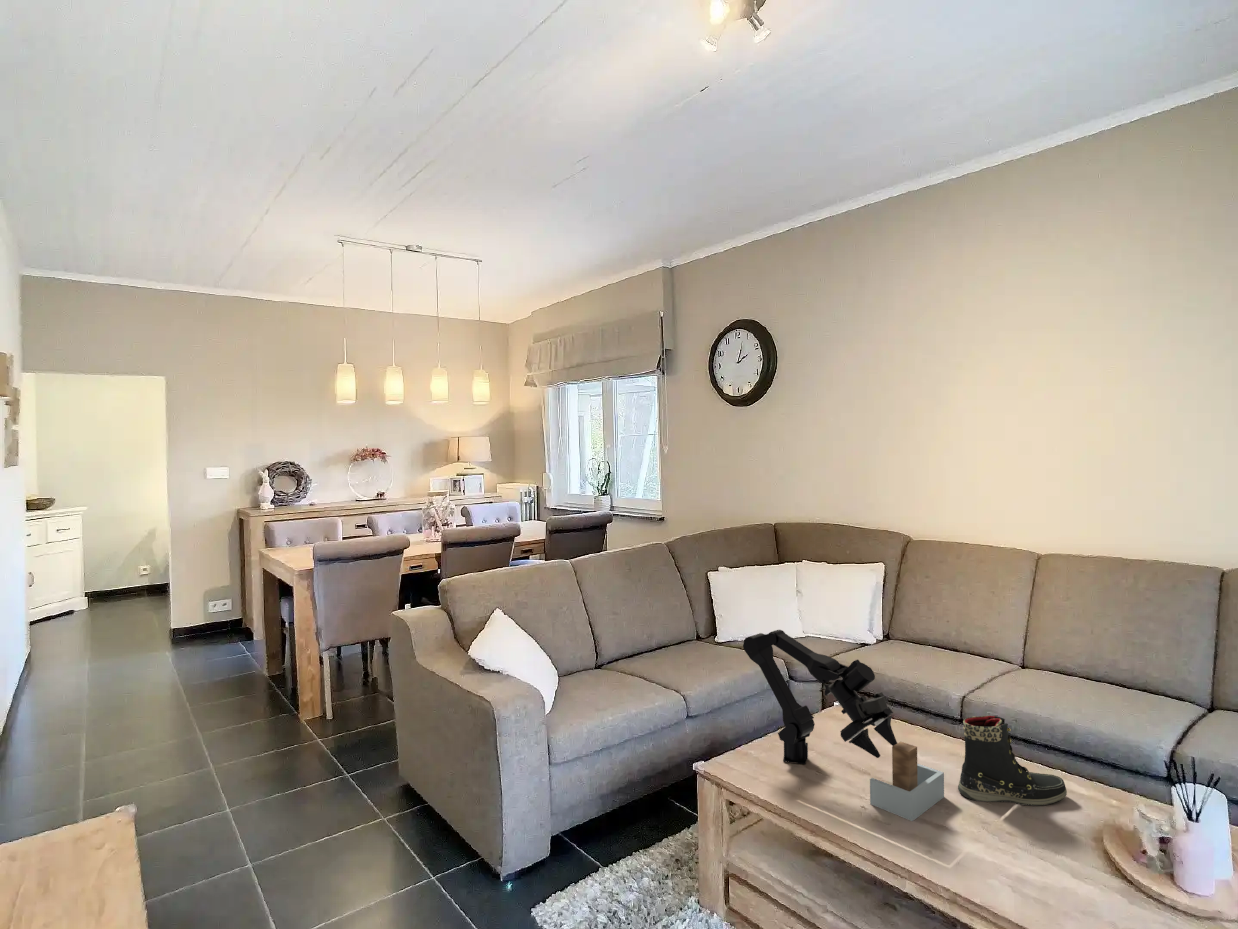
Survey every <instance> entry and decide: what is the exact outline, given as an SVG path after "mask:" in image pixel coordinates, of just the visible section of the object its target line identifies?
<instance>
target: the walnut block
mask: <svg viewBox="0 0 1238 929" xmlns="http://www.w3.org/2000/svg"><path fill="white" fill-rule="evenodd" d="M891 746H892V745H891ZM891 755H892V756H891V758H892V762H891V763H892V766H891V767H892V769H891V770H892V772H891V773H892V774H891V776H892V777H891V778H892V785H893V786H896V787H898V788H901V789H904V790H906V791H909V792H910V791H911V790H913V789H914V788H916V787H917V786H918V776H917V763H918V746H915V745H913V744H909V743H906V742H904V741H899V742H897V744H895V745H894V746H892V747H891Z"/></svg>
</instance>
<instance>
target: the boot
mask: <svg viewBox="0 0 1238 929" xmlns="http://www.w3.org/2000/svg"><path fill="white" fill-rule="evenodd" d="M1005 720H1006V719H1005V718H1004V717H1000V716H997V715H977V716H970V717H969V716H968V717H965V718H964V719H963V721H962V724H963V728H962V729H963V730H964V733H963V735H964V761H963V763H962V766H961V773H960V778H959V782H958V785H957V790H958V792H959V793H960V794H961V795H962V796H963V797H965V798H967V799H968V800H972V801H975V802H983V803H1012V804H1013V803H1014V804H1016V805H1021V806H1022V805H1023V806H1034V807H1035V806H1036V807H1037V806H1038V807H1039V806H1048V805H1053V804H1054V803H1057V802H1060V801H1062V800H1063V799H1064V798H1065V797H1067V794H1068V791H1067V787H1066V784H1065V781H1064V779H1063V778H1061V776H1057V775H1054V774H1048V773H1039V772H1032V771H1029V770H1028V768H1027V767H1026V766H1023V765H1021V764H1020V763H1019V762H1018V761H1017V759H1016V757H1015V754H1014V752H1013V747H1012V745H1011V743H1012V738H1011V735H1010V734H1009V732H1011V730H1012V729H1011V728H1010V727H1008V725H1009V724H1008V723H1007V722H1006V723H1005Z"/></svg>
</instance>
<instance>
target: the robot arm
mask: <svg viewBox="0 0 1238 929" xmlns="http://www.w3.org/2000/svg"><path fill="white" fill-rule="evenodd" d="M773 646H775V647H776V648H778V649H779V650H780V651H782V652H784V653H785V654H787V655H788V656H790V657H791V658H793V659H795V660H796V661H798V662H799V663H800V664H801V665H803V666H805V668H807V670H808V672H809V674H810V675H812V677H813V678H815V679H816V681H818V682H819V683H822V684H825V687H824V688H825V689H824V696H829V695H832V696H833V697H834V699H835V700H836V701H837V702H838V704H839V705H840V706H841V708H842V710H840V711H841V713H842V715H844V714H847V716H848V717H849V719H850V720H851V722H850V723H849V724H847V725H846V726H845V727H844V728H842V729H841V730H840V737H841V739H842V740H843V742H844V743H846V742H848V743H849V744H852V745H855V746H857V747H858V748H860V749H862V750H864V751H865V752H867V753H868V754H870V755H871V756H873V757H875V758H876V759H879V758H881V754H880V752H879V750H878V749H877V747H876V745H875V744H874V743H873V741H872V739H871V737H870V736H869V728H868V727H869V726H873V729H874V731H875V732H876V733H878V734H879V735H880V736H881V737H882V738H883V739H884V740H886V741H887V743H888V744H890V745H891V746H894V745H895V744H897V743H898V741H897V739H896V736H895V733H894V731H893V727H892V725H891V723H892V718H893V714H894V711H893V710H892V709H891V707H889V706H888V703H889V698H888V697H886V695H885V694H884V693H883V692H882V691H880V692H877V693H875V694H874V695H873V698H870V699H867V697H865V696H864V695H862V696H860V695H859V694H858V692H861V691H863V689H865V688H866V687H867V686H869V685H870V684H871V683H872V682H873V681H875V679H876V677H875V676H876V675H875V672H874V671H873V669H872V668H871V667H870V666H868V665H867V664H866V663H865V662H864V663H863V662H861V661H860V660H859V659H855V660H852V662H851V663H850V665H849V666H846V665H844V664H842V663H840V662H839V661H838V660H837V659H835V658H833V657H831V656H828V655H826V654H822V653H817V652H815V651H813V650H811V649H810V648H808V647H807V646H806V645H804V644H802V643H801V642H799V641H797V640H796V639H794V638H793V637H792V636H790V635H788V634H786V632H785V631H784V630H782V629H776V630H773V631H770V632H769V633H762V632H759V633H756V634H753V635H749V636H747V637H745V639H744V640H743V644H742V647H743V651H744V652H745V654H746V655H747V656H748V658H749V660H751V661H752V662H753V663H755V664H756V665H757V666H758V667H759V668H760V670H761V672H762V674H763V676H764V678H765V679H766V681H767V683H768V685H769V687H770V689H771V691H772V693H773V695H774V697H775V698H776V701H777V703H778V705H779V706H780V708H781V710H782V722H783V725H784V727H783V728H782V729H781V730H780V731H779V732H778V738H779V740H780V741H782V742H783V760H782V762H784V763H789V764H790V763H791V764H792V763H793V764H802V765H806V764H807V761H808V759H809V743H808V742H807V738H809V737H810V735H811V733H812V732H814V730H815V725H816V724H815V721H814V718H815V717H814V716H813V715H812V713H811V711H810V709H809V707H808V705H806V704H805V705H801V704H800V703H798V702H797V700H796V698H795V697H794V694H793V692H792V690H791V689H790V687H789V684H788V683H787V681H786V679H785V677H784V676H783V674H782V672H781V670H780V668H779V667H778V665H777V663H776V661H775V659H774V648H773ZM841 678H842V679H841ZM832 681H833V682H832ZM829 682H832V683H829ZM826 683H828V684H826Z"/></svg>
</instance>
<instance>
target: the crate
mask: <svg viewBox="0 0 1238 929" xmlns="http://www.w3.org/2000/svg"><path fill="white" fill-rule="evenodd" d="M917 776H918V786H917V787H916V788H914V789H913V790H911V791H910V792H909V791H906V790H904V789H901V788H898V787H896V786H893V784H890V783H887V782H885V781H883V780H879V779H877V778H874V777H871V778H869V795H870V796H869V797H870V798H869V805H871V806H873V807H876V808H878V809H881V810H884V811H886V812H888V813H890V814H894V815H896V816H899V817H901V818H903V819H905V820H908V821H911V822H913V821H915V820H916V819H918V818H919V817H920V816H921V815H922V814H924V813H925V812H927V811H928V810H929V809H930V808H932V807H933V806H934V805H935V804H937V803H938V802H940V801H941V800H942V799H944V798H945V772H944V771H941V770H938V769H935V768H932V767H929V766H926V765H923V764H920V763H918V762H917Z"/></svg>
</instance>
